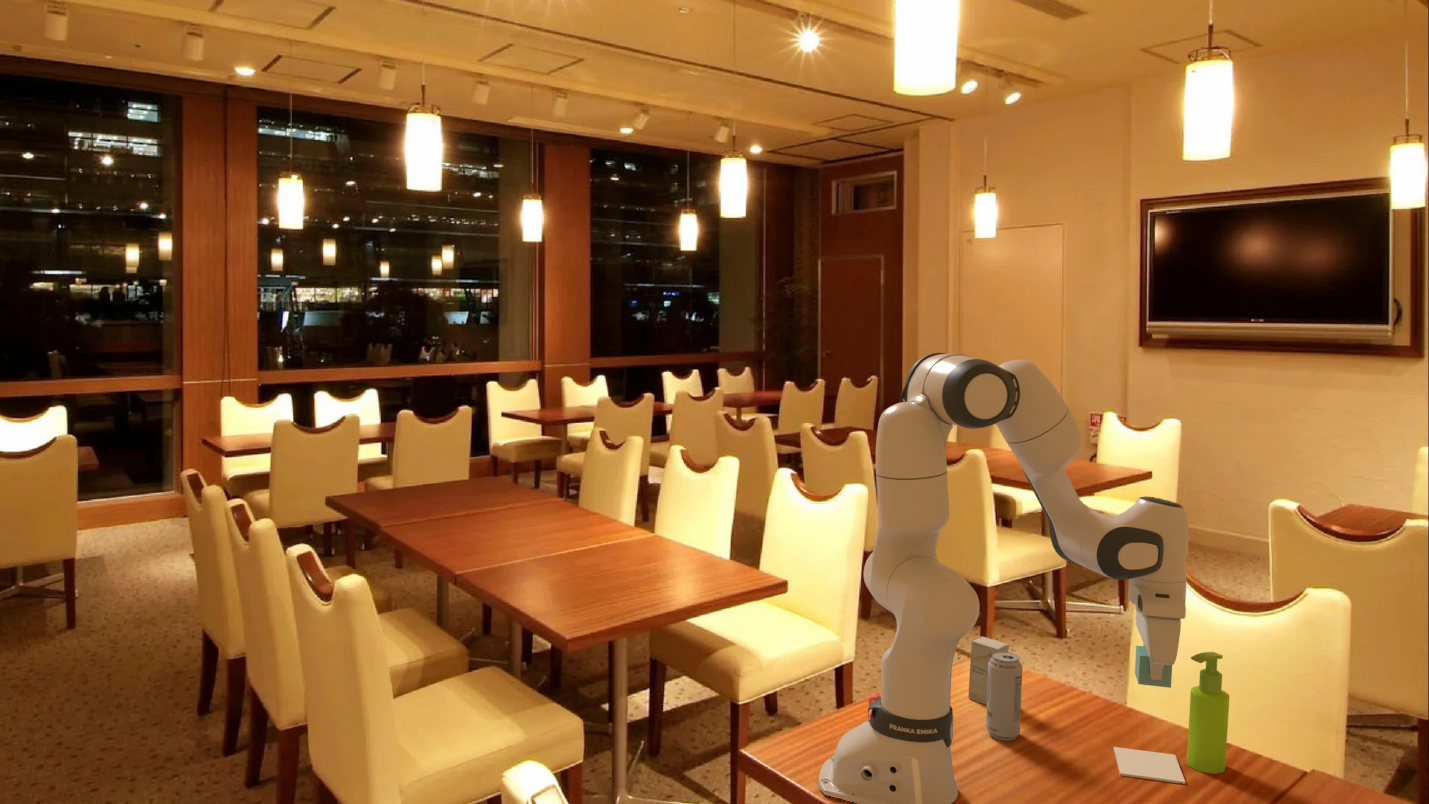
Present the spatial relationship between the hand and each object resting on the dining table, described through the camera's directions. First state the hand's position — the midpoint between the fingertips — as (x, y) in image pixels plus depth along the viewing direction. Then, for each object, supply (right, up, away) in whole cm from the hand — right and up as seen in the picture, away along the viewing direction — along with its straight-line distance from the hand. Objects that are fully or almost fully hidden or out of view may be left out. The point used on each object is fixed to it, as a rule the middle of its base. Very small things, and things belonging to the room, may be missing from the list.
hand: (1152, 671), depth 161 cm
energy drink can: (-21, -16, +14) cm, 30 cm away
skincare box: (-20, -14, +29) cm, 38 cm away
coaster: (0, -17, +2) cm, 17 cm away
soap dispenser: (+10, -17, +2) cm, 20 cm away
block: (0, -2, 0) cm, 2 cm away
